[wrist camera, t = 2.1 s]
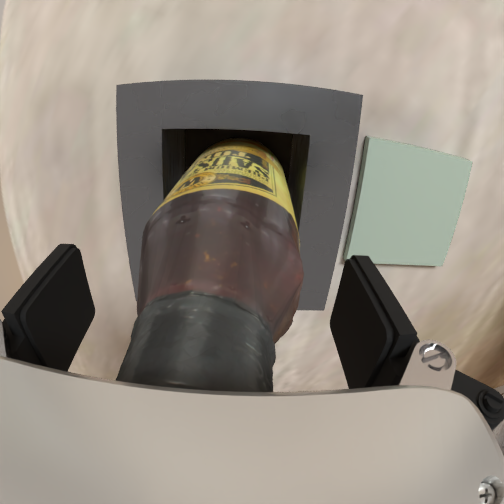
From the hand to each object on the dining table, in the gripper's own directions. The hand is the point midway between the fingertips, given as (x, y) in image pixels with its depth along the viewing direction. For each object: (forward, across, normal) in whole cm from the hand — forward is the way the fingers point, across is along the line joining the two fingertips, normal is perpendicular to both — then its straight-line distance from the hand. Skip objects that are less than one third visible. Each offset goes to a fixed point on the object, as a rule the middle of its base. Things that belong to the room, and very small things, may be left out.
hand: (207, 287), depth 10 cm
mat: (+13, -15, +1) cm, 19 cm away
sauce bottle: (+13, -1, 0) cm, 13 cm away
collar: (+13, -1, 0) cm, 13 cm away
